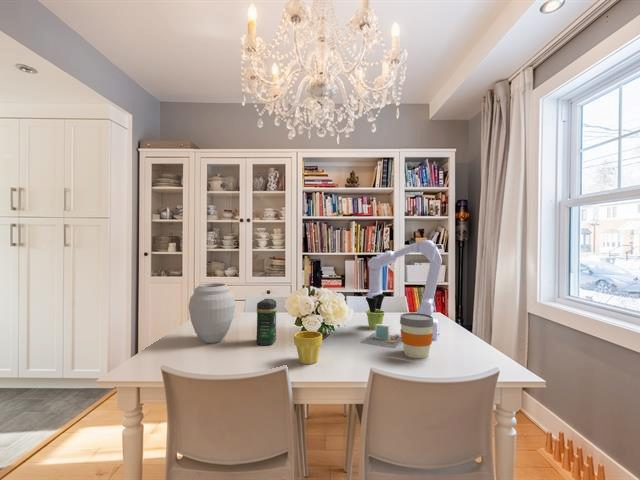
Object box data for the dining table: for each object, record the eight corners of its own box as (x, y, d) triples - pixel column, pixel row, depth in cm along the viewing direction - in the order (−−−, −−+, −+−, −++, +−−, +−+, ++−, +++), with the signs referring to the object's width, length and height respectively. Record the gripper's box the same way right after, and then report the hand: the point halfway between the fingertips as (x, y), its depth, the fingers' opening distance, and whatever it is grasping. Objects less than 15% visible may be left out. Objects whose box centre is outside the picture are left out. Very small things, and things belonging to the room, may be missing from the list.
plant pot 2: (386, 331, 165) (386, 313, 165) (366, 331, 165) (366, 313, 165) (383, 326, 174) (383, 309, 174) (364, 326, 175) (364, 309, 175)
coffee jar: (273, 346, 142) (273, 301, 142) (254, 345, 143) (254, 301, 143) (278, 339, 152) (278, 297, 152) (260, 338, 153) (260, 297, 153)
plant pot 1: (290, 358, 128) (290, 332, 128) (315, 354, 133) (315, 329, 133) (299, 368, 119) (299, 339, 119) (326, 363, 123) (327, 336, 123)
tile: (389, 338, 152) (389, 325, 152) (388, 340, 150) (388, 326, 150) (376, 336, 155) (377, 323, 155) (375, 338, 153) (375, 324, 153)
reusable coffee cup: (428, 363, 124) (429, 321, 123) (395, 356, 130) (395, 317, 130) (436, 353, 134) (437, 315, 134) (405, 347, 141) (405, 311, 141)
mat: (405, 338, 154) (405, 337, 154) (394, 349, 139) (394, 348, 139) (374, 333, 161) (374, 332, 161) (359, 343, 146) (359, 342, 146)
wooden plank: (394, 336, 155) (394, 333, 155) (400, 337, 154) (400, 334, 154) (386, 343, 146) (386, 340, 146) (393, 344, 144) (393, 341, 144)
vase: (178, 343, 146) (178, 286, 145) (212, 332, 163) (212, 281, 163) (212, 350, 137) (212, 289, 136) (244, 338, 154) (244, 283, 154)
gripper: (372, 280, 173) (373, 307, 173) (361, 283, 160) (361, 312, 160) (386, 281, 169) (386, 308, 169) (376, 284, 157) (376, 314, 157)
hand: (375, 310), depth 165 cm, fingers open, 7 cm apart
